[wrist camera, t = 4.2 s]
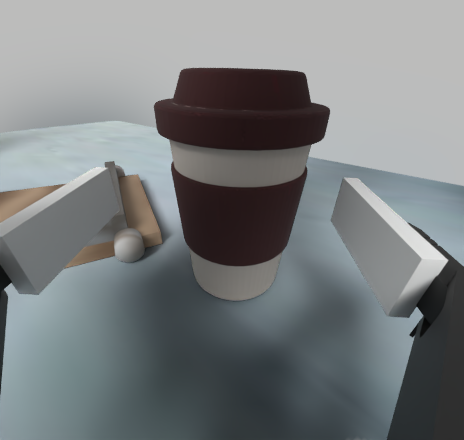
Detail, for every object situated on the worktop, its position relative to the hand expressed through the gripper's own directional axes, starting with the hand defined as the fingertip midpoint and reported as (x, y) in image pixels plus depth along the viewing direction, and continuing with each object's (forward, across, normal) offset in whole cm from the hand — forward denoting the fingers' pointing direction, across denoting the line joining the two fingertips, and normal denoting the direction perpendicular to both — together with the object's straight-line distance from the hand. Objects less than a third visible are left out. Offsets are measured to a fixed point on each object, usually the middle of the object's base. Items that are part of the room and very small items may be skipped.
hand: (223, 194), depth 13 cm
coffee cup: (+3, +1, -9) cm, 10 cm away
